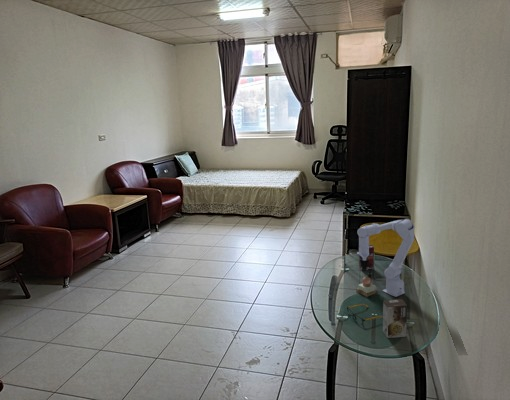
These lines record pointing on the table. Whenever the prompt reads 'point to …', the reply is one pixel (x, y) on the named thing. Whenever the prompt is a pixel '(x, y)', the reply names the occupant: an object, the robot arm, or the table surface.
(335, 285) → the table surface
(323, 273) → the table surface
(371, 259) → the supplement box
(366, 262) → the robot arm
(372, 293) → the walnut base slab
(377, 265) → the table surface
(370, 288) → the sage top slab
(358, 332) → the table surface
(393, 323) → the coffee box
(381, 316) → the eyeglasses
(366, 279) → the salmon pink cylinder
